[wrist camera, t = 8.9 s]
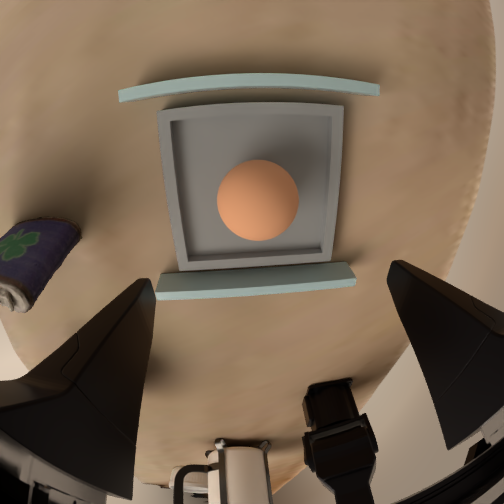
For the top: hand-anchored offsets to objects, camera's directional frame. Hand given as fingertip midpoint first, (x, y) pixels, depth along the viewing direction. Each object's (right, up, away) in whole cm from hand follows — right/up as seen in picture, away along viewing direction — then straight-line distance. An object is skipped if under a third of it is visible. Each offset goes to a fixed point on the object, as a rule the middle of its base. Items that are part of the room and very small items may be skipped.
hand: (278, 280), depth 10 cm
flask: (-20, +3, +10) cm, 22 cm away
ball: (-1, +4, +7) cm, 8 cm away
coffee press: (-5, -39, +36) cm, 54 cm away
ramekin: (-18, -61, +48) cm, 79 cm away
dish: (-1, +6, +10) cm, 11 cm away
